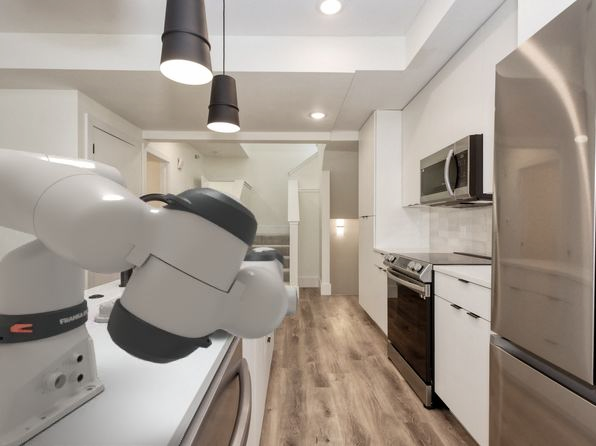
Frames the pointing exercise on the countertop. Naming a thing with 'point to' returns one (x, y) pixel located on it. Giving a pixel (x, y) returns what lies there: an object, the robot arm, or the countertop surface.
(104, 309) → the mechanical component
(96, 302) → the countertop surface
